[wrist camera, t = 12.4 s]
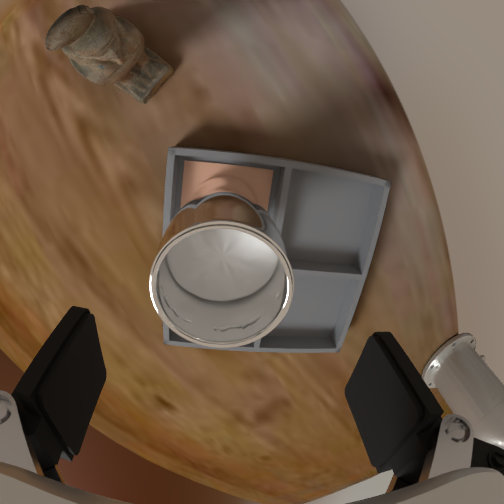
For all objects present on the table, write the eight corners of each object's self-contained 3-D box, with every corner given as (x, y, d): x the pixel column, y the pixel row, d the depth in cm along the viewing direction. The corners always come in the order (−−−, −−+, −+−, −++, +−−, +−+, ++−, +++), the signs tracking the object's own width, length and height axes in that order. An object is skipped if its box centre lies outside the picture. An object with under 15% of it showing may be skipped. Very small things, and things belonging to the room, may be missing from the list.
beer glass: (185, 171, 25) (135, 217, 11) (263, 171, 25) (307, 217, 12) (187, 243, 28) (155, 350, 14) (259, 244, 28) (290, 349, 14)
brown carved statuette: (178, 74, 24) (178, 41, 9) (140, 112, 25) (89, 135, 10) (103, 11, 18) (33, -59, 3) (66, 50, 19) (-37, 24, 4)
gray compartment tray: (376, 176, 27) (391, 181, 25) (332, 336, 35) (339, 352, 32) (174, 146, 25) (168, 147, 22) (168, 327, 32) (163, 344, 30)
